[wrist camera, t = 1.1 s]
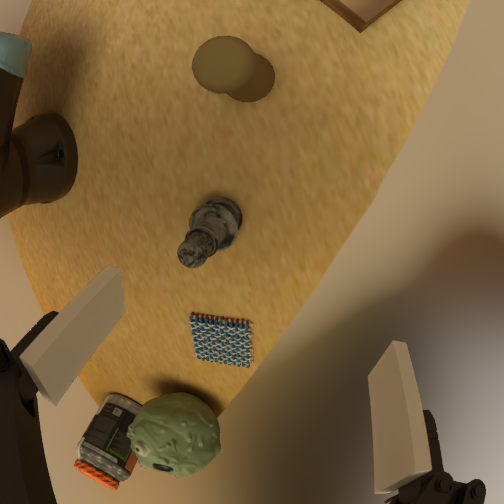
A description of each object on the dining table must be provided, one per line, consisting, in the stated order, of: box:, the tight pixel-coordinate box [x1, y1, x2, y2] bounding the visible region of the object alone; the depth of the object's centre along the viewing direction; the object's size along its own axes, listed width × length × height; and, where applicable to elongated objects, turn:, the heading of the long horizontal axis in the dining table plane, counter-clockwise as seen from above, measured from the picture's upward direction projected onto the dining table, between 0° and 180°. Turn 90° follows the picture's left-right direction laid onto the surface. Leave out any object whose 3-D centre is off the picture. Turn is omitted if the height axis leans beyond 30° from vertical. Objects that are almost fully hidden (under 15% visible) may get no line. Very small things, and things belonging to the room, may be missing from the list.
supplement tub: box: [74, 394, 142, 490], centre depth 57 cm, size 16×16×26 cm
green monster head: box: [127, 392, 221, 478], centre depth 49 cm, size 16×19×20 cm
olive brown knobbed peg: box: [192, 36, 275, 102], centre depth 23 cm, size 6×6×11 cm
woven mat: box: [189, 312, 254, 368], centre depth 46 cm, size 10×11×2 cm
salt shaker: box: [177, 197, 242, 268], centre depth 31 cm, size 6×6×12 cm
